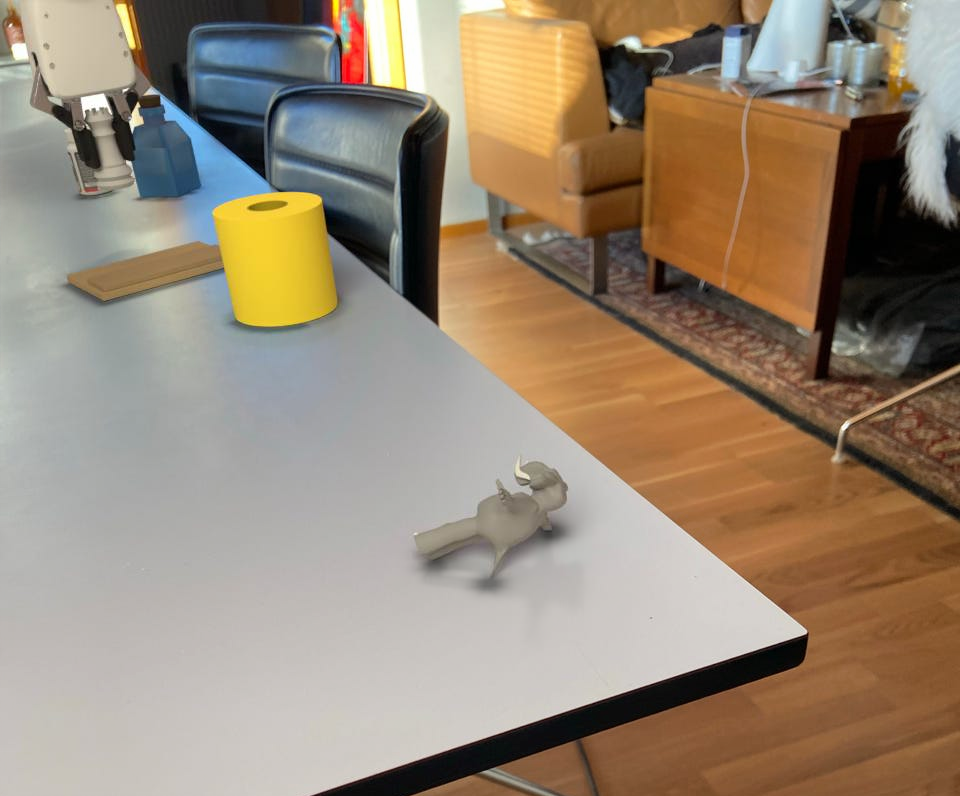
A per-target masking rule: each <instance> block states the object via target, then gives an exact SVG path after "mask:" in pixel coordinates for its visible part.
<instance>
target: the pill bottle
mask: <svg viewBox="0 0 960 796" xmlns="http://www.w3.org/2000/svg"><path fill="white" fill-rule="evenodd" d="M86 127H87V129H90V127H89V126H88V125H86ZM63 133H64V137H65V140H66V142H68V144H67V146H66V152H67V155H68V158H69V161H70V165H71V169H72V171H73V176H74V178H75V182H76V186H77V189H78V192H79V194H80V195H82V196H97V195H102V194H106V193H109V192H111V191H112V190H101V189H100V188H99V187H98V186H97V185H96V184H97V182H98V181H99V180H98V179H97V178H95V177H94V172H95V170H96V169H93V168H90V167H87V166H86V165H85V163H84V162H83V161H81V160H80V158H79V155H78V152H77V148H76V145H75V141H74V138H73V134H72V131H71V129H70V128H68V127H67V128H66V129H64V130H63Z"/></svg>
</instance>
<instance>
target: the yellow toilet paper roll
mask: <svg viewBox="0 0 960 796" xmlns="http://www.w3.org/2000/svg"><path fill="white" fill-rule="evenodd" d="M324 210H325V209H324V205H323V198H322V197H321V196H319V195H318V194H315V193H310V192H302V191H301V192H300V191H278V192H277V191H276V192H266V193H260V194H254V195H253V194H252V195H249V196H243V197H239V198H236V199H232V200H230V201H227V202H224V203H221V204H220V205H218V206H217V207H215V208H214V209H213V210H212V212H211V213H212V218H213V222H214V227H215V232H216V236H217V241H218V245H219V246H220V251H221V255H222V260H223V264H224V268H223V269H224V274H225V278H226V282H227V283H226V284H227V287H228V292H229V296H230V301H231V306H232V310H233V314H234V318H235V319H236V320H237V321H238V322H240V323H241V324H244V325H248V326H251V327H264V328H265V327H267V328H268V327H270V328H273V327H285V326H294V325H298V324H304V323H307V322H311V321H314V320H316V319H320V318H323V317H324V316H326V315H328V314H330V313H331V312H333V311H334V310H335V309H336V308H337V307H338V305H339V302H338V301H339V300H338V294H337V288H336V282H335V275H334V269H333V263H332V261H333V260H332V256H331V249H330V243H329V236H328V230H327V225H326V216H325V211H324Z"/></svg>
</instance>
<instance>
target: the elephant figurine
mask: <svg viewBox="0 0 960 796" xmlns="http://www.w3.org/2000/svg"><path fill="white" fill-rule="evenodd" d="M513 473H514V478H515V481H516V483H517V484H518V485H519V486H521V487H525V486H529V487H528V488H529V489H530V490H532V493H531V495H529V494H527V493H525V492H523V491H519V492H515V493H513V494H511V493H510V491H508V490H507V489H506V488H505V487H504V485H503V483H502V482H501V481H500V478H497V479H495V481H494V482H495V484H496V488H497V490H498V491H497V493H495V494H493V495H490V496H488V497H486V498H484V499H483V500H481V501H479V503H478V504H477V509H476V510H477V511H476V515H475V516H473V517H467V518H462V519H460V520H457V521H454V522H447V523H444V524H442V525H440V526H439V527H436V528H433V529H430V530H426V531H423V532H419V531H414V532H413V533H412V534H413V538H414V539H413V540H414V541H415V545H416V548H417V549H418V552H419V553H420V555H421V556H423V557H424V556H428V558H429V560H430V561H435V560H436V559H438V558H440V557H443V556H445V555H448V554H449V553H451V552H453V551H455V550H457V549H459V548H461V547H465V546H469V545H472V544H475V543H478V542H482V541H484V540H487V541H488V542H489V543H490V544H491V546H492V549H493V551H494V554H495V556H494V564H493V568H492V571H491V573H490V577H489V578H490V579H489V580H491V579H492V578H493V576H494V574H495V572H496V571H497V569H498V567H499V565H500V564H501V562H502V559H504V556H505V555H506V553H507V552H508V550H509V549H512V548H513V547H515V546H516V545H518V544H520V543H522V542H524V541H526V540H527V539H529V538H530V537H531V536H532V535H534V533H535V532H536V531H537V530H538V529H539V527H540V528H542V530H544V531H552V530H553V525H552V522H551V521H550V518H549V517H548V514H549V513H551V512H554V511H557V510H559V509H561V508H563V507H564V506H565V505H566V503H567V502H568V496H567V495H568V494H567V492H568V491H569V487H568V483H567V482H565V481H564V480H563V478H562V476H561V474H560V473H559V471H558V470H557V469H556V468H554V467H552V468H551V467H548V466H547V465H546V464H545V463H544V462H541V461H538V460H537V461H535V460H533V461H530V462H529V460H527V461H526V462H525V463H524V464H523V465H522V454H519V456H518V458H517V461H516V462H515V465H514V472H513Z"/></svg>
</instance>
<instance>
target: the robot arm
mask: <svg viewBox="0 0 960 796" xmlns="http://www.w3.org/2000/svg"><path fill="white" fill-rule="evenodd" d="M17 1H18V9H19V16H20V17H19V18H20V22H21V27H22V34H23V38H24V43H25V48H26V52H27V57H28V61H29V65H30V69H31V74H32V78H33V83H32V89H31V94H30V98H29V105H30V106H31V108H33V109H35V110H38V111H40V112H42V113H45V114H48V115H50V116H51V117H53V118H55V119H57V121H59V122H61V123H62V124H63V125H65V126H66V127H67V129H68V128H70V129H71V131H72V134H73V138H74V141H75V145H76V148H77V152H78V155H79V158H80V160H81V161H83V162H84V163H85V165H86V166H87V167H90V168H93V169H98V168H100V167H101V163H100V160H99V156H98V152H97V149H96V145H95V142H94V138H93V134H92V131H91V130H90V129H87V127H86V126H87V124H86V123H85V122H84V119H85V116H84V111H83V104H82V98H86V97H91V96H98V95H102V94H103V95H104V98H105V100H106V103H107V106H108V109H109V111H110V114H111V115H112V116H113V117H114V118H113V121H112V123H111V124H112V128H113V130H114V131H115V139H116V143H117V145H118V148H119V150H120V153H121V155H122V157H123V159H124V160H126V162H127V161H128V162H131V161H135V156H134V152H133V151H135V150H136V147H135V143H134V139H133V135H132V133H133V130H132V128H131V124H130V122H131V120H132V118H133V113H134V111H135V109H136V106H137V105H138V104H139V103H138V100H139V99H140V98H141V97H142V96H144V95H146V93H147V92H148V91H149V90H150V89H151V86H152V85H151V82H150V81H149V79H148V78H147V76H145V74H144V72H142V70H141V69H140V67H139V66H138V65H137V63H135V62H134V58H133V54H132V50H131V48H130V44H129V41H128V38H127V35H126V31H125V28H124V25H123V22H122V20H121V17H120V14H119V12H118V8H117V7H116V4H115V2H114V0H17ZM124 90H125V91H124ZM49 98H56V99H58V100H60V101H61V105H59V104H58V103H55V102H53V101H50V99H49Z"/></svg>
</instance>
